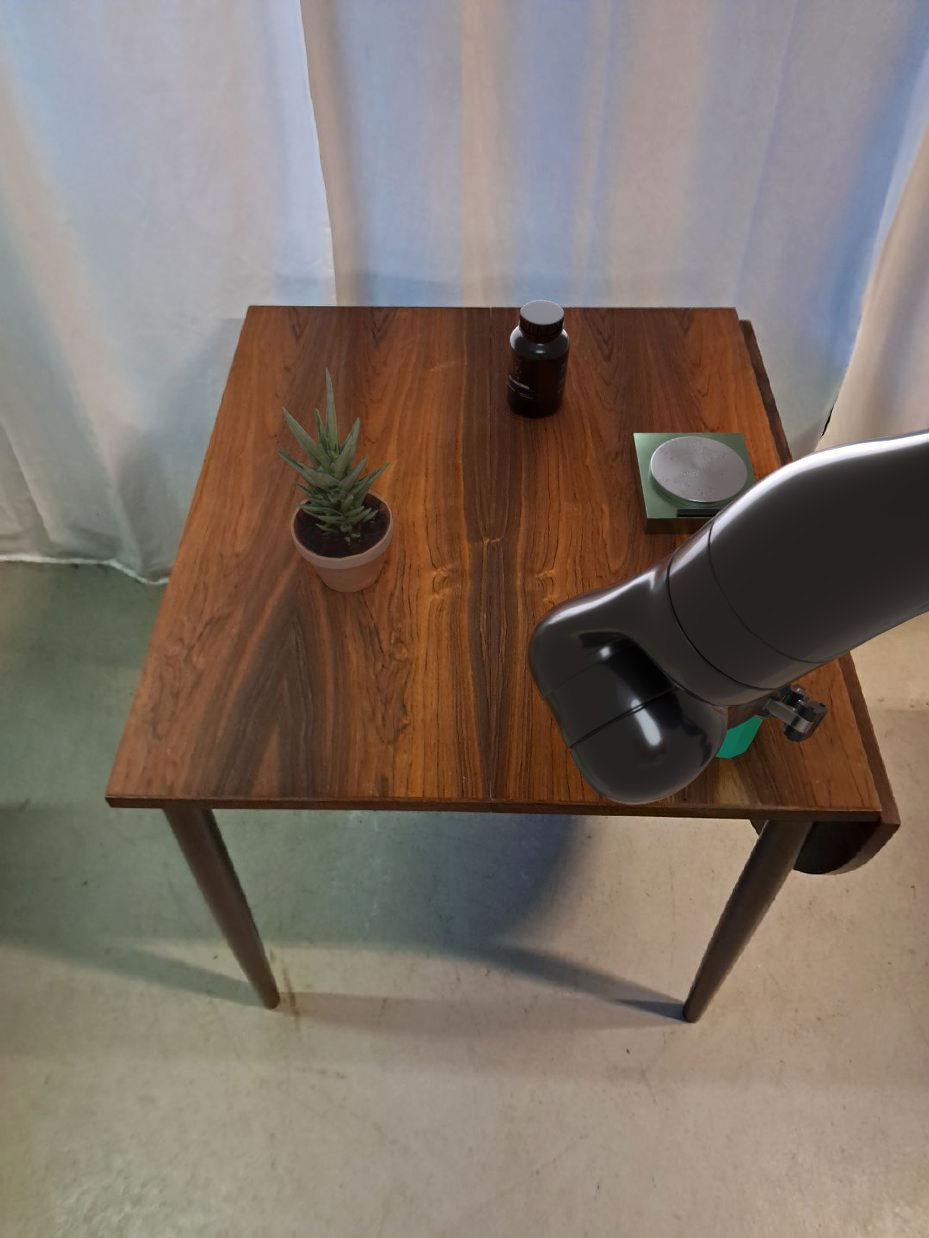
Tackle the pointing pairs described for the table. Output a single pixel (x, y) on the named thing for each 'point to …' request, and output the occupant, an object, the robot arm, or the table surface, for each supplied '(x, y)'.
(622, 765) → the robot arm
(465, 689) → the table surface
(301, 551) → the potted plant
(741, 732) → the candle
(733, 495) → the scale
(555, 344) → the supplement bottle
